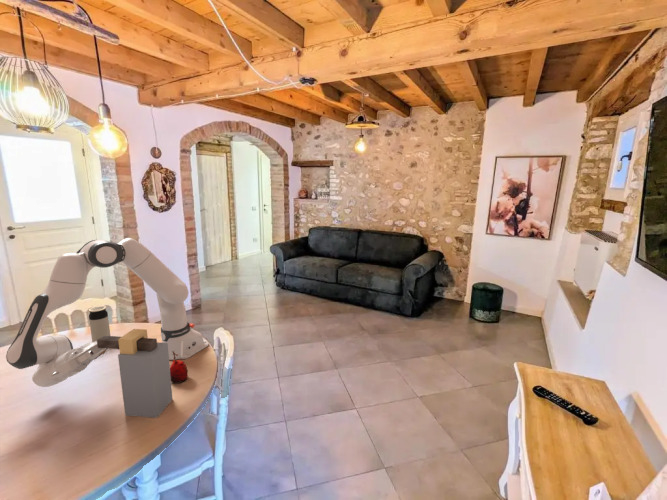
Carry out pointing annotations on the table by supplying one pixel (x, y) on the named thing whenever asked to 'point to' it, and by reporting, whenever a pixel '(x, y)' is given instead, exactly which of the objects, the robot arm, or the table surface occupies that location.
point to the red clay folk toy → (178, 370)
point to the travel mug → (99, 322)
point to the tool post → (144, 376)
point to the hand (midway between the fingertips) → (101, 346)
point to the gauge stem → (113, 343)
